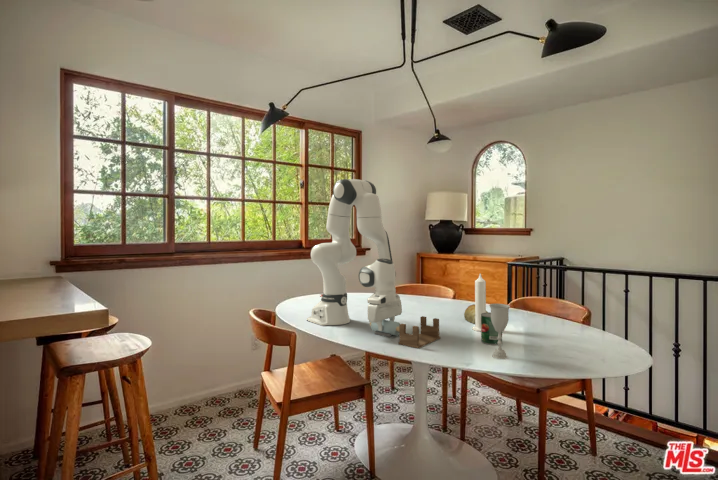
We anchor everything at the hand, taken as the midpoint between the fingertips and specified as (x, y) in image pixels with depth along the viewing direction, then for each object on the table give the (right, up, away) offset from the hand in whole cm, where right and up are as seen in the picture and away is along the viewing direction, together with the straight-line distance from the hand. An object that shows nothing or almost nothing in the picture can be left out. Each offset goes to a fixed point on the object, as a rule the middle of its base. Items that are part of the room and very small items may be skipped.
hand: (385, 328), depth 170 cm
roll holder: (+13, -3, -11) cm, 17 cm away
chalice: (+38, -3, -31) cm, 49 cm away
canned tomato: (+41, -2, -14) cm, 43 cm away
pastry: (+45, -1, +20) cm, 50 cm away
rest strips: (0, -2, 0) cm, 2 cm away
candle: (+42, -2, +5) cm, 43 cm away
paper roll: (0, +1, 0) cm, 1 cm away
